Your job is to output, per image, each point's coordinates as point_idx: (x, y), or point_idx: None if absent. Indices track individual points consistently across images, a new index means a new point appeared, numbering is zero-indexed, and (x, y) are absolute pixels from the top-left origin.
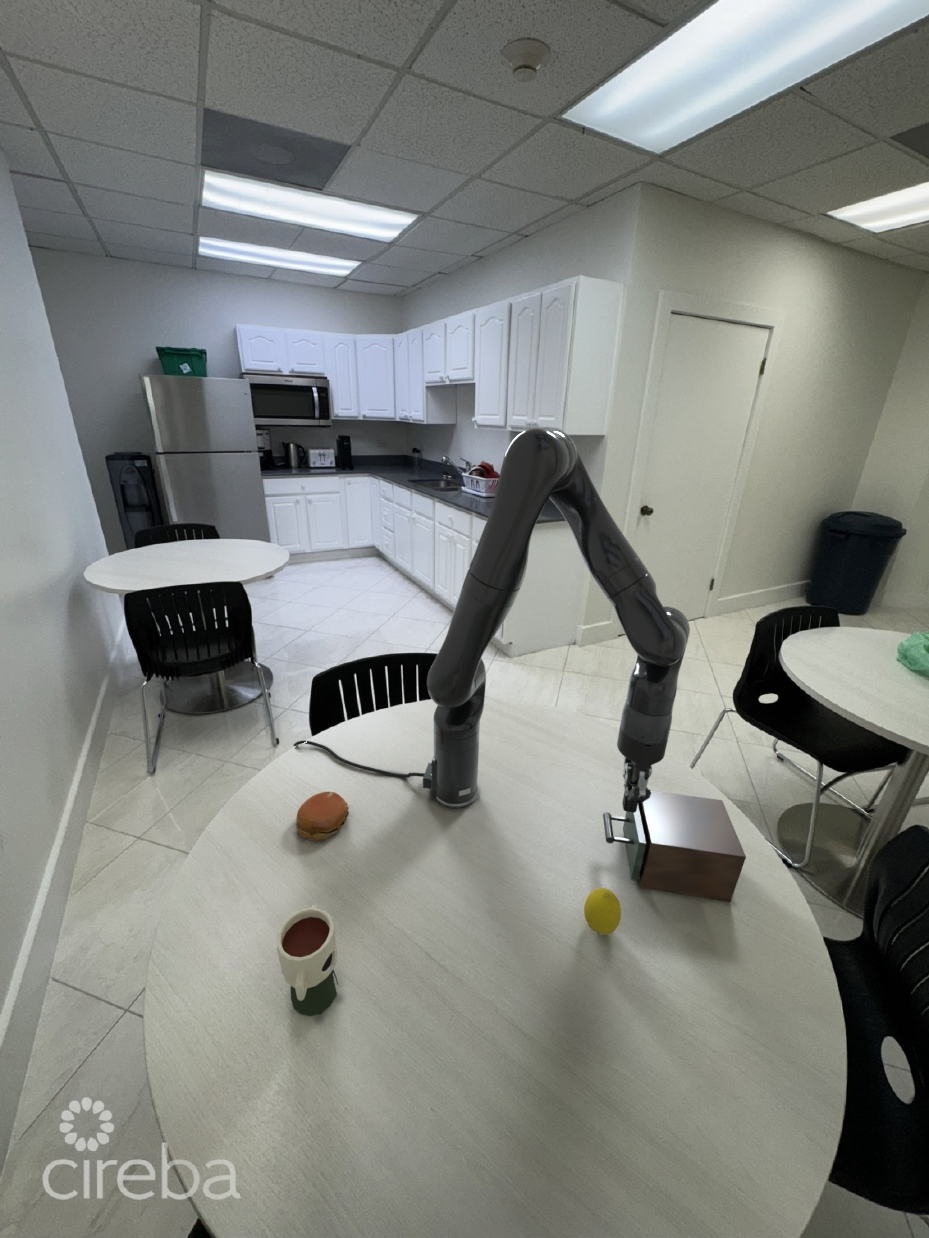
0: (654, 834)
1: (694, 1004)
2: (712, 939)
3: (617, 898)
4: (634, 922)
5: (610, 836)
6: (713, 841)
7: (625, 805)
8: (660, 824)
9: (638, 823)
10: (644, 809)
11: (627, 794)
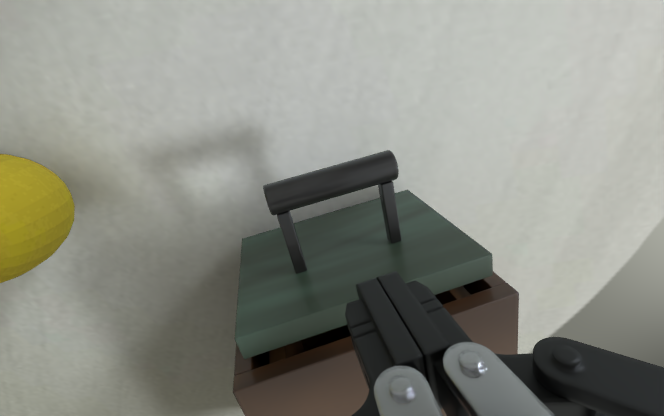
0: (286, 389)
1: (13, 387)
2: (191, 386)
3: (1, 277)
4: (129, 261)
5: (273, 204)
6: None
7: (367, 307)
8: (349, 391)
9: (337, 315)
10: None
11: (377, 402)
